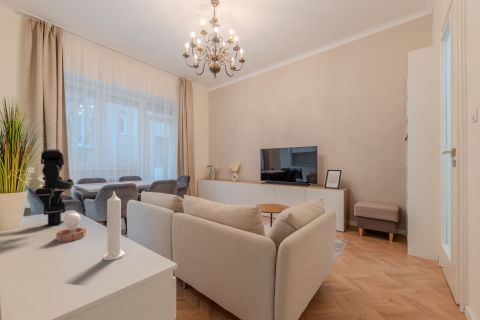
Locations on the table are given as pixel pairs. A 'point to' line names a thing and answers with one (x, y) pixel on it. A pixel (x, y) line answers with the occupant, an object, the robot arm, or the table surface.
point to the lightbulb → (72, 222)
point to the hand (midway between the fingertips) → (52, 206)
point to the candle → (114, 229)
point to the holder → (70, 235)
